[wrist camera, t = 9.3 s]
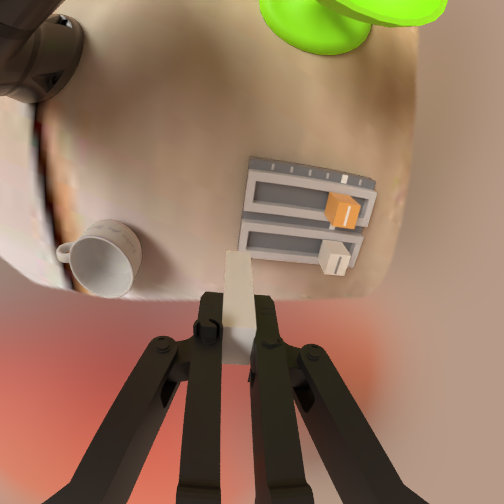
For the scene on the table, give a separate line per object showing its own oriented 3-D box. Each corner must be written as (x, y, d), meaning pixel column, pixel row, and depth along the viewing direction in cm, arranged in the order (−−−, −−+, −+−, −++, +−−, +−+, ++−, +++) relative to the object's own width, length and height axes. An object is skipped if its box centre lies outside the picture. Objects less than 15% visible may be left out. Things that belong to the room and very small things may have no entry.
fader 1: (326, 189, 36) (339, 202, 31) (346, 192, 36) (361, 206, 32) (321, 210, 37) (332, 226, 33) (341, 213, 38) (354, 229, 33)
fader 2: (320, 235, 39) (330, 254, 35) (339, 238, 40) (351, 256, 35) (315, 254, 41) (324, 274, 36) (333, 256, 41) (344, 276, 37)
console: (249, 156, 36) (250, 160, 33) (370, 178, 38) (379, 184, 35) (237, 247, 42) (237, 258, 40) (346, 258, 44) (352, 269, 41)
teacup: (155, 227, 40) (139, 253, 33) (140, 280, 45) (126, 310, 38) (79, 197, 37) (53, 217, 30) (72, 251, 42) (51, 277, 35)
